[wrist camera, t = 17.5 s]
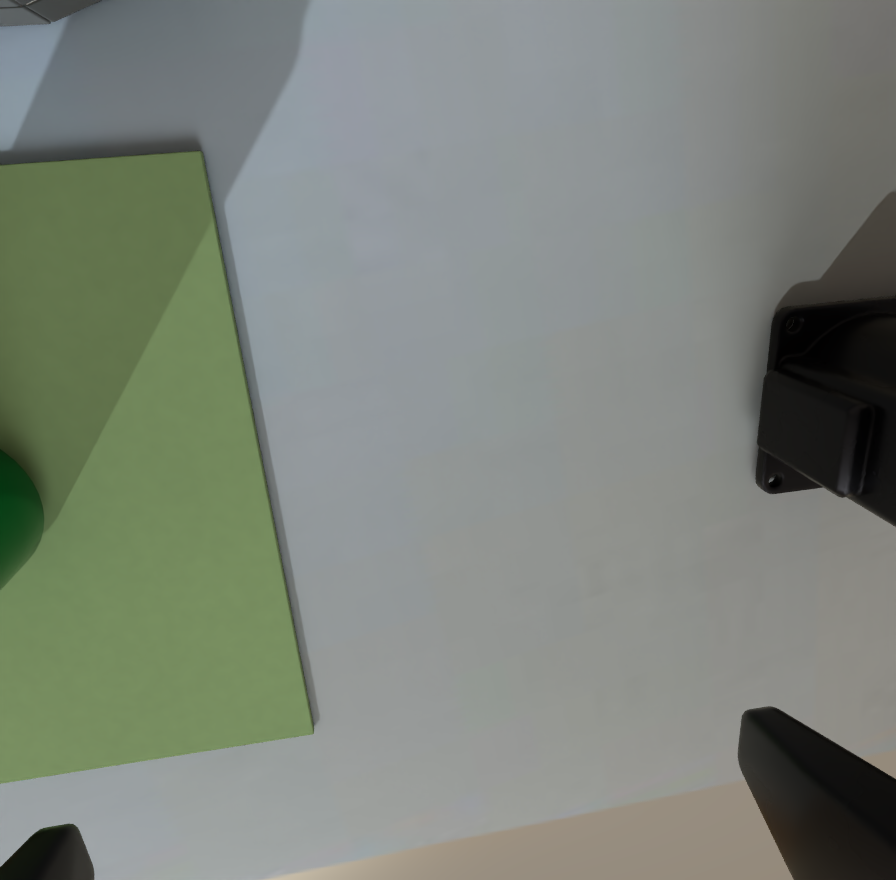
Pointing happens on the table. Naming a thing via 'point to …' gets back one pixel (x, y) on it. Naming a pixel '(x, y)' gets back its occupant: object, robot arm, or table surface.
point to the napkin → (133, 479)
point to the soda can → (17, 518)
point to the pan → (38, 11)
